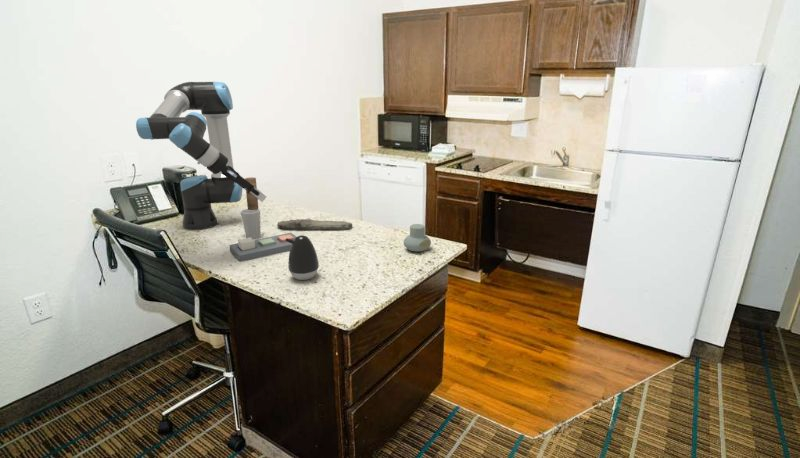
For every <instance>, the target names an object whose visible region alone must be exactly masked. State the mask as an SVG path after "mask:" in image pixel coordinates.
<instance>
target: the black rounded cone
mask: <svg viewBox="0 0 800 458" xmlns="http://www.w3.org/2000/svg"><path fill="white" fill-rule="evenodd" d="M286 241H287V242H289V243H291V244H292V246H291V249H290V251H289V252H288V253H289V254H288V262H287V263H288V265H287V267H288V271H289V273H290V274H291V276H292V277H293V278H294V279H296V280H299V281H306V280H307V281H308V280H310V279H312V278H313V277H315V276H316V275H317V273H318V269H319V266H320V264H319V258H318V255H317V251H316V249H315V246H314V244H313V242H312V241H311V239H310V238H309V237H308V236H306V235H304V234H303V235H302V234H300V235H298V236H297V237H296V238H295V239H294V240H292V239H288V238H286Z"/></svg>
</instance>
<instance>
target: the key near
mask: <svg viewBox="0 0 800 458" xmlns="http://www.w3.org/2000/svg"><path fill="white" fill-rule="evenodd" d="M254 240H255V239H254ZM254 240H253V239H252V238H251V237H250V238H246V237H245V238H240V239H237V243H238V245H239V248H240V249H241V250H242V251H243V250H248V249H253V248H255V241H254Z"/></svg>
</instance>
